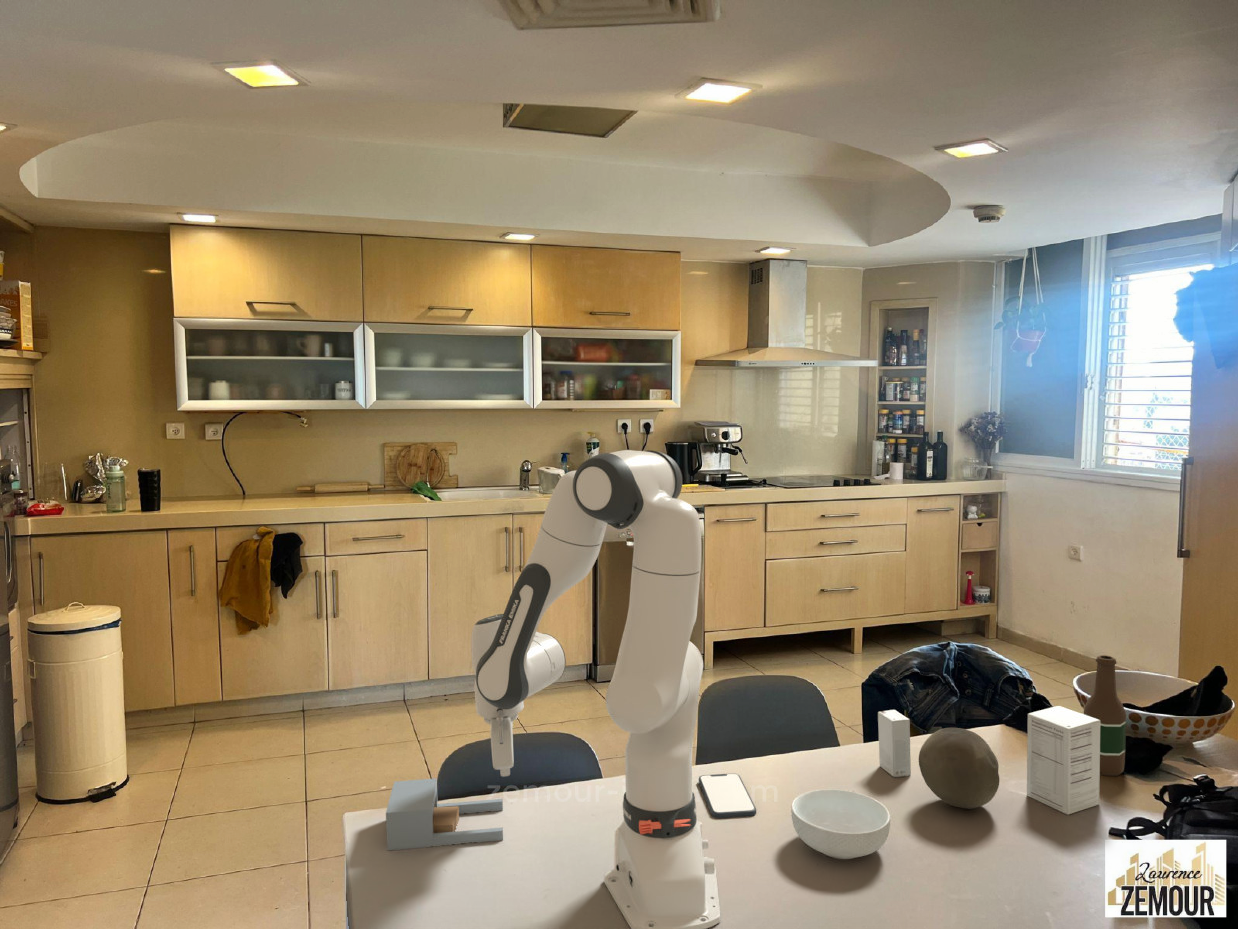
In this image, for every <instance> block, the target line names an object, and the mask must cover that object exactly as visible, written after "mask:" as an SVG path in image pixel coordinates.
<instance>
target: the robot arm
mask: <svg viewBox="0 0 1238 929" xmlns="http://www.w3.org/2000/svg"><path fill="white" fill-rule="evenodd" d="M682 489H683V474H682V470H681V469H680V467H679V465H678V463H677V462H676V460H674V459H673V458H672V457H671V456H669V455H668V454H666V453H663V452H660V451H657V450H649V449H648V450H633V449H623V450H618V451H612V452H604V453H603V452H602V453H598V454H596V455H593V456H591V457H590V458H588V459H586V460H584V461H583V462H582V463H581V464H580V466H578V468H577V469H576V470H571V471H568V472H565V474H563V475H562V476H561V477H560V478H559V480H558V482H557V484H556V485H555V488H554V489H553V492H552V494H551V496H550V498H549V501H548V504H547V505H546V507H545V508H546V509H545V511H544V514H543V517H542V521H541V524H540V527H539V530H538V534H537V537H536V540H535V543H534V545H533V548H532V550H531V552H530V555H529V557H528V559H527V561H526V563H525V565H524V567H523V568H522V571H521V573H520V574H519V576H518V578H517V580H516V582H515V584H514V587H513V589H512V591H511V594H510V596H509V599H508V601H507V604H506V606H505V610H504V612H503V613H499V614H494V615H491V616H488V617H485V618H482V619H480V620H478V621H476V623H475V624H474V625H473V627H472V632H471V640H470V641H471V642H470V644H471V663H472V669H473V670H474V674H475V679H474V680H475V682H474V688H473V690H474V697H475V698H474V699H475V709H476V715H478V716H479V717H481V718H483V721H484V722H485V723H486V724H488V725H490V730H489V732H490V746H491V747H490V748H491V758H492V767H493V769H494V770H497V771H499V772H500V773H499V774H500V776H501V777H502V778H503V777H509V776H510V775H511V769H512V768H513V767H514V763H515V762H514V759H515V758H514V735H513V734H514V732H513V727H514V726H513V725H514V721H516V720H517V719H518V717H519V714H518V713H521V711H523V710H524V706H525V703H524V701H525V700H526V699H527V698H529V697H530V696H533V695H534V694H536V693H538V692H540V691H542V690H543V689H545V688H547V687H549V686H550V685H552V684H554V683H555V682H556V681H558V680H559V679H561V677H562V676H563V675H564V672H565V668H566V665H567V664H566V662H567V660H566V654H565V651H564V648H563V646H562V644H561V643H560V641H559V640H558V639H556V637H554V636H553V635H551V634H548V633H543V632H542V633H541V632H538V628H539V626H540V623H541V621H542V618H543V616H544V615H545V613H546V612H547V611H548V609H549V608H550V607H551V605H553V604H554V602H556V600H558V599H559V598H560V597H561V596H562V595H564V594H565V593H566V592H567V591H569V590H571V589H572V588H573V587H574V586H576V585H578V584H579V583H580V582H582V581H583V580H584V579H585V578H586V577H587V576H588V575H589V573H590V572H591V571H592V569H593V567H594V565H595V563H596V560H597V559H598V557H599V555H600V551H601V548H602V544H603V541H604V538H605V533H606V531H607V526H608V525H609V526H611V527H613V528H615V529H617V530H623V529H626V528H627V527H628V528H629V529H630V532H631V533H632V536H633V553H632V554H633V555H632V565H631V577H630V578H631V579H630V590H629V603H628V609H627V610H628V611H627V617H626V621H625V625H624V629H623V633H622V637H621V640H620V645H619V649H618V653H617V654H618V655H617V658H616V663H615V666H614V667H615V668H614V670H613V675H612V676H611V680H610V683H609V685H608V687H607V690H606V694H605V706H606V707H605V708H606V710H607V713H608V715H609V716H610V719H611V720H612V722H613V723H614V724H615V725H616V726H617V727H618V728H619V729H621V730H622V731H624V732H627V733H629V735H628V740H627V742H626V746H625V750H624V767H625V768H624V769H625V770H624V771H625V792H624V793H623V801H622V812H623V821H622V823H621V824H620V826H618V827H617V829H616V830H615V831H614V860H613V861H614V862H613V863H614V866H613V869H611V870H609V871H608V872H606V874H604V879H603V880H604V881H603V882H604V885H605V886H606V887H607V890H608V892H609V893H610V895H611V897H612V898H613V900H614V902H615V904H616V905H617V907H618V909H619V910H620V912H621V915H623V917H624V920H626V922H627V924H628V925H629V927H630V929H708V928H711V927H714V926H715V925H718V924H719V923H720V922H721V919H722V918H721V908H720V900H719V897H720V896H719V891H718V890H719V889H718V879H717V870H716V865H715V859H714V858H710V857H708V856H704V851H703V849H704V850H707V849H709V839H706V838H705V839H703V823H702V822H701V821H699V820H698V819H697V803H696V796H695V793H694V791H693V749H694V748H693V747H694V745H693V744H694V738H695V737H694V736H695V729H696V724H697V716H698V707H699V706H698V705H699V696H700V686H701V680H702V676H703V672H704V671H703V670H704V660H703V656H702V654H701V652H700V650H699V648H698V647H697V646H696V645H695V644H694V643H693V642H692V641H690V640H691V636H692V633H693V629H694V626H695V624H696V622H697V617H698V616H697V615H698V606H699V593H700V580H701V569H702V553H703V552H702V532H701V531H702V530H701V521H700V517H699V512H698V511H697V509H695V507H694V506H693V505H692V504H691V503H688V502H687V501H685V500H682V499H679V498H678V497H679V496H680V494H681V493H682V492H681V491H682Z"/></svg>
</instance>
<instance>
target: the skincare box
mask: <svg viewBox="0 0 1238 929" xmlns="http://www.w3.org/2000/svg"><path fill="white" fill-rule="evenodd" d="M910 721H911V719H910V718H908V717H907V716H905V715H903V714H902V713H900V712H899V711H897V710H896V709H889V710H882V711H878V712H877V722H878V723H877V724H878V726H877V727H878V756H879V757H878V758H879V762H878V763H879V767H881V768H882V769H883V770H885V771H886V773H888V774H889V775H890V776H892V777H893V778H900V777H908V776H911V774H912V768H911V731H910V730H911V728H910V727H911V726H910V725H911V724H910Z"/></svg>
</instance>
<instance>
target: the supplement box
mask: <svg viewBox="0 0 1238 929" xmlns="http://www.w3.org/2000/svg"><path fill="white" fill-rule="evenodd" d="M1026 751H1027V753H1026V754H1027V755H1026V756H1027V757H1026V796H1027V797H1030V798H1031V799H1034V800H1036V801H1037V802H1040V803H1042V804H1045V805H1046V806H1048V807H1050V808H1052V809H1055V810H1056V811H1058V812H1061V813H1063V814H1065V815H1067V816H1069V815H1071V814H1074V813H1077V812H1080V811H1083V810H1086V809H1090V808H1092V807H1095V806H1098V805H1100V776H1101V775H1100V720H1098V719H1095V718H1092V717H1090V716H1087V715H1084V713H1081V712H1078V711H1076V710H1071V709H1069V708H1067V707H1063V706H1061V705H1057V706H1055V705H1054V706H1052V707H1047V708H1044V709H1041V710H1040V709H1039V710H1036V711H1033V712H1029V713H1027V749H1026Z"/></svg>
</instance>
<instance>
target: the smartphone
mask: <svg viewBox="0 0 1238 929" xmlns="http://www.w3.org/2000/svg"><path fill="white" fill-rule="evenodd" d="M698 784H699V786H700V790H701V792H702V794H703V797H704V799H705V802H706V804H707V806H708V810H709V812H710V814H711V816H712V818H713V819H730V818H731V819H732V818H745V817H754V816H756V815H757V808H756V806H755V804H754V802H753V799H752V798H751V795H750V793H749V791H748V789H747V788H746V786H745V784H744V782H743V780H742V777H741V776H740V774H738V773H734V772H733V773H719V774H703V775H700V776H699V777H698Z"/></svg>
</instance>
